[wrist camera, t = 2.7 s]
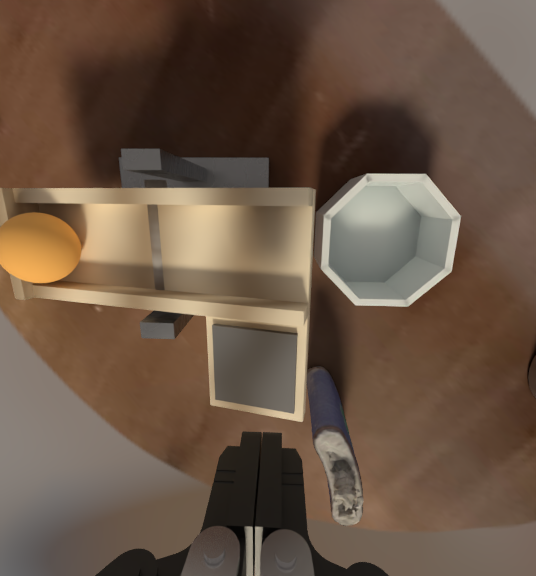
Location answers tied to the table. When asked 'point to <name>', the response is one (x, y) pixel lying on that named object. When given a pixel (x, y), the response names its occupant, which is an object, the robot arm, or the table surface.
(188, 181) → the lever stand
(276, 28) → the table surface
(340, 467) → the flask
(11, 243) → the ball
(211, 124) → the table surface
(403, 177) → the cup
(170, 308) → the lever
